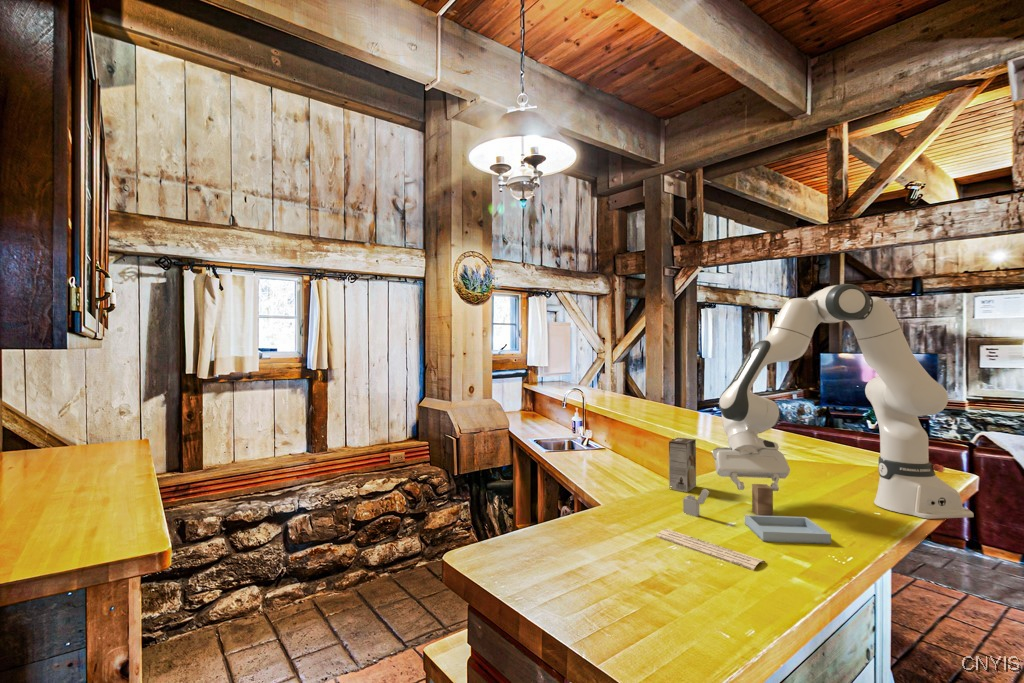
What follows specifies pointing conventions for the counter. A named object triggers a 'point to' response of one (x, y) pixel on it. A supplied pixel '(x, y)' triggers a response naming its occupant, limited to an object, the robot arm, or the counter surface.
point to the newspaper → (709, 549)
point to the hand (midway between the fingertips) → (758, 489)
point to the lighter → (694, 503)
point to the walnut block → (762, 500)
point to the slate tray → (787, 529)
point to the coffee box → (682, 464)
